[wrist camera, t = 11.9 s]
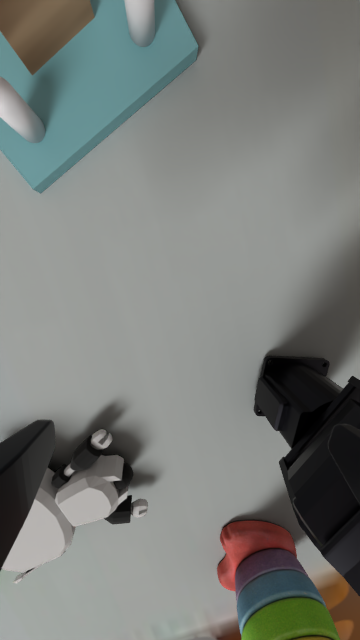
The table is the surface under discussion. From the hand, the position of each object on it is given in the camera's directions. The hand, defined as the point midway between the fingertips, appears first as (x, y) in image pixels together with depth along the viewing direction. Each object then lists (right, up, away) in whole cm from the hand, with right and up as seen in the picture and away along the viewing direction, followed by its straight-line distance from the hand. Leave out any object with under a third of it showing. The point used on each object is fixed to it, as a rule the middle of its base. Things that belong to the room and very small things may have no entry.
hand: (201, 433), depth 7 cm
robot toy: (-13, -13, +17) cm, 25 cm away
